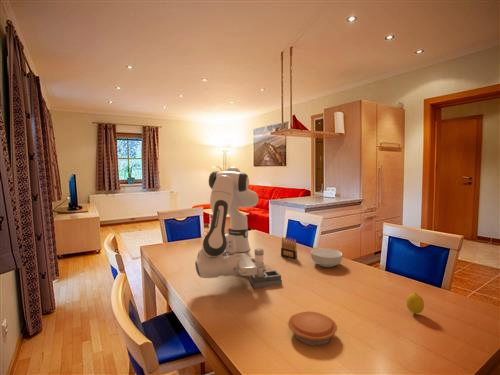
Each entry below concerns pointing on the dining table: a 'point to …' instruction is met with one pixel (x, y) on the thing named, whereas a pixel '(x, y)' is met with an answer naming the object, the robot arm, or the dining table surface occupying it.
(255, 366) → the dining table surface
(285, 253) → the ammunition clip
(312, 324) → the pie
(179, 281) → the dining table surface
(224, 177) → the robot arm
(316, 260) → the cereal bowl
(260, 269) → the fuse
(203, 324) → the dining table surface
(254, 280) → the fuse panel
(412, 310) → the lemon
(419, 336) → the dining table surface
